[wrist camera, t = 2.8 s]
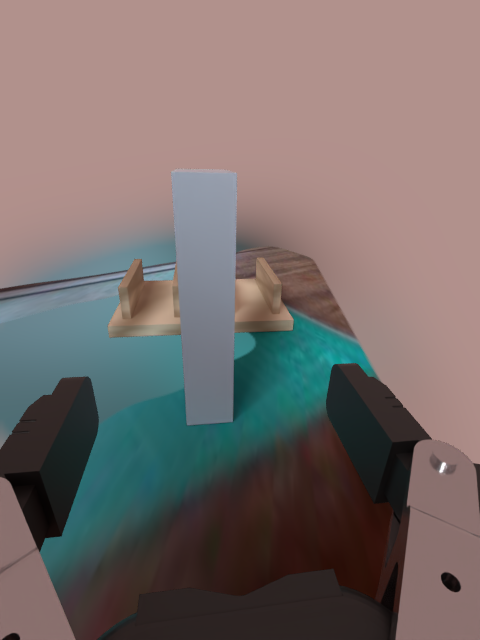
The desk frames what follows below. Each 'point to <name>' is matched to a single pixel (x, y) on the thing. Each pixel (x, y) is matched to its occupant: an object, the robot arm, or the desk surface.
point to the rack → (164, 312)
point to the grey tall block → (206, 289)
